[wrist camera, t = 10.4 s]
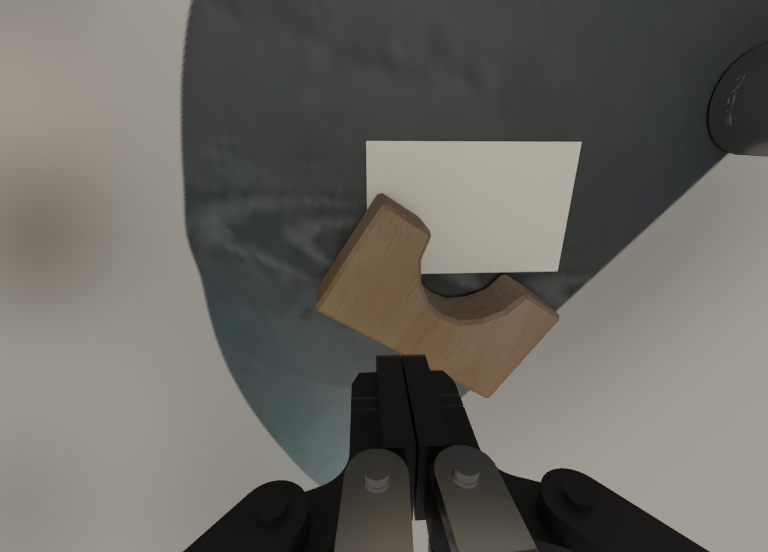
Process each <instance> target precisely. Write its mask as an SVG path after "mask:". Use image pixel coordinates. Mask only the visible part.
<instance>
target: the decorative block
mask: <svg viewBox="0 0 768 552" xmlns="http://www.w3.org/2000/svg"><path fill="white" fill-rule="evenodd" d="M430 238H431V233H430V230H429V229H428V228H427V226H426V225H425V224H424V223H423V221H422V220H421V219H420V218H419V217H418V216H417V215H415V214H414V213H412V212H411V211H409V210H408V209H406V208H405V207H403V206H402V205H400V204H399V203H397V202H395V201H394V200H392V199H391V198H389V197H388V196H386V195H385V194H383V193H381V194H377V195H376V197H375V198H374V200H373V202H372V203H371V205H370V206H369V208H368V209H367V211H366V212H365V214H364V216H363V217H362V219H361V220H360V222H359V223H358V225H357V226H356V228H355V230H354V231H353V233H352V234H351V236H350V237H349V239H348V240H347V242H346V244H345V245H344V247H343V248H342V250H341V251H340V253H339V254H338V256H337V257H336V259H335V261H334V262H333V264H332V265H331V267H330V268H329V270H328V271H327V273H326V275H325V276H324V278H323V279H322V281H321V282H320V285H319V291H318V297H317V303H316V307H317V310H318V311H319V312H321V313H323V314H325V315H327V316H329V317H331V318H333V319H335V320H336V321H338V322H340V323H342V324H344V325H346V326H348V327H350V328H352V329H354V330H356V331H358V332H360V333H362V334H364V335H366V336H367V337H369V338H371V339H373V340H375V341H377V342H379V343H381V344H383V345H385V346H387V347H389V348H391V349H392V350H394V351H396V352H398V353H400V354H402V355H410V354H425V355H426V358H427V362H428V365H429V368H430V369H431V370H433V371H434V370H443V371H444V372H446V373H447V374H448V375H449V376H450V377H451V378H452V379H453V380H454V382H456V383H458V384H460V385H462V386H464V387H466V388H468V389H470V390H472V391H474V392H476V393H477V394H479V395H481V396H483V397H486V398H489V397H490V396H491V395H492V394H493V393H494V392H495V391H496V390H497V388H498V387H499V386H500V385H501V384H502V383H503V382H504V380H505V379H506V378H507V377H508V376H509V375H510V374H511V373H512V371H513V370H514V369H515V368H516V367H517V366H518V365H519V364H520V363H521V361H522V360H523V359H524V358H525V357H526V356H527V355H528V354H529V353H530V351H531V350H532V349H533V348H534V347H535V346H536V345H537V344H538V342H539V341H540V340H541V339H542V338H543V337H544V336H545V335H546V334H547V332H548V331H549V330H550V329H551V328H552V327H553V326H554V325H555V324H556V323H557V321H558V320H559V314H557V313H556V312H555V311H554V310H553V309H552V308H551V307H550V306H549V305H547V304H546V303H545V302H544V301H543V300H542V299H541V298H540V297H538V296H537V295H536V294H535V293H534V292H532V291H531V290H529V289H528V288H526V287H525V286H523V285H521V284H520V283H518V282H517V281H515V280H514V279H512V278H511V277H509V276H508V275H506V274H505V275H501V276H500V277H498V278H497V279H496V280H495V281H494V282H493V283H492V284H490V285H489V286H488V287H487V288H486V289H484V290H481V291H478V292H476V293H473V294H470V295H468V296H461V297H449V298H446V297H443V296H440V295H438V294H435V293H432V292H430V291H429V290H428V289H427V288H426V287H425V286H423V285H422V283H421V258H422V256H423V254H424V252H425V249H426V247H427V245H428V243H429V240H430Z"/></svg>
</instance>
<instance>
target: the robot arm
mask: <svg viewBox="0 0 768 552" xmlns="http://www.w3.org/2000/svg"><path fill="white" fill-rule="evenodd" d="M709 128H710V133H711V135H712V137H713V139H714V141H715V143H716V144H717V145H718V146H719V147H720V148H721V149H723V150H725V151H726V152H728V153H732V154H737V155H752V156H768V44H764V45H761V46H759V47H757V48H754V49H752V50H751V51H749V52H748V53H746V54H745V55H743V56H742V57H740V58H739V59H738V60H737V61H736V62H735V63H734V64H733V65H732V66H731V67H730V68H729V69H728V71H727V72H726V73H725V74H724V76H723V77H722V79H721V80H720V82H719V84H718V86H717V87H716V89H715V92H714V94H713V97H712V100H711V104H710V108H709ZM413 509H414V516H415V520H426V523H427V529H428V535H429V539H428V552H709V551H707V550H706V549H704V548H702V547H701V546H699V545H698V544H696V543H695V542H693V541H691V540H690V539H688V538H687V537H685V536H683V535H682V534H680V533H679V532H677V531H675V530H674V529H672V528H670V527H669V526H667V525H666V524H664V523H663V522H661V521H659V520H658V519H656V518H655V517H653V516H651V515H650V514H648V513H646V512H645V511H643V510H642V509H640V508H639V507H637V506H635V505H634V504H632V503H630V502H629V501H627V500H626V499H624V498H623V497H621V496H619V495H618V494H616V493H615V492H613V491H611V490H610V489H608V488H607V487H605V486H603V485H602V484H600V483H598V482H597V481H595V480H594V479H592V478H591V477H589V476H587V475H585V474H583V473H581V472H578V471H575V470H571V469H562V468H560V469H554V470H551V471H549V472H547V473H546V474H545V475H544V476H543V478H542V480H541V482H537V481H533V480H529V479H525V478H520V477H516V476H513V475H510V474H507V473H505V472H503V471H501V470H499V469H498V468H497V467H496V465H495V463H494V462H493V461H492V460H491V459H490V457H488V456H487V455H486V454H485V453H483V452H482V451H481V450H480V448H479V446H478V443H477V440H476V438H475V435H474V432H473V430H472V427H471V425H470V422H469V419H468V417H467V414H466V411H465V408H464V407H463V403H462V401H461V398H460V396H459V393H458V390H457V387H456V385H455V382H454V380H453V379H452V378H451V377H450V376H449V375H448V374H447V373H446V372H444V371H443V370H434V371H430V368H429V365H428V362H427V358H426V355H425V354H410V355H401V358H400V355H377V356H376V372H372V373H359V374H358V376H357V377H356V379H355V380H354V382H353V383H352V396H351V426H350V454H349V460H348V463H347V465H346V467H345V468H344V470H343V471H342V473H341V474H340V475H339V476H338V477H336V478H335V479H334V480H332V481H331V482H329V483H327V484H325V485H323V486H320V487H317V488H315V489H312V490H309V491H306V492H304V490H303V489H302V488H301V487H300V486H299V485H297V484H295V483H293V482H290V481H284V480H278V481H272V482H268V483H265V484H263V485H261V486H259V487H257V488H256V489H254V490H253V491H252V492H250V493H249V494H248V495H247V496H246V497H245V498H243V499H242V500H241V501H240V502H239V503H238V504H237V505H236V506H234V507H233V508H232V509H231V510H230V511H229V512H228V513H226V514H225V515H224V516H223V517H222V518H221V519H220V520H219V521H217V522H216V523H215V524H214V525H213V526H212V527H211V528H210V529H208V530H207V531H206V532H205V533H204V534H203V535H202V536H200V537H199V538H198V539H197V540H196V541H195V542H194V543H193V544H191V545H190V546H189V547H188V548H187V549H186V550H185V551H183V552H413V536H412V519H413Z"/></svg>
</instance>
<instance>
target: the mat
mask: <svg viewBox="0 0 768 552" xmlns="http://www.w3.org/2000/svg"><path fill="white" fill-rule="evenodd" d="M581 144H582V142H509V141H366V179H367V209H368V208H369V206H370V205H371V203H372V202H373V200H374V198H375V197H376V195H377V194H381V193H383V194H385V195H386V196H388V197H389V198H391V199H392V200H394V201H395V202H397V203H399V204H400V205H402V206H403V207H405V208H406V209H408V210H409V211H411V212H412V213H414V214H415V215H417V216H418V217H419V218H420V219H421V220H422V221H423V223H424V224H425V225H426V226H427V228H428V229H429V230H430V233H431V238H430V240H429V243H428V245H427V247H426V249H425V252H424V254H423V256H422V258H421V274H443V273H496V272H549V271H558V267H559V261H560V256H561V250H562V245H563V240H564V234H565V229H566V224H567V218H568V213H569V208H570V202H571V197H572V192H573V186H574V181H575V176H576V170H577V165H578V160H579V154H580V149H581Z"/></svg>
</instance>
